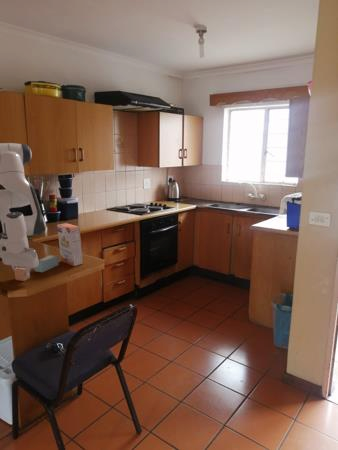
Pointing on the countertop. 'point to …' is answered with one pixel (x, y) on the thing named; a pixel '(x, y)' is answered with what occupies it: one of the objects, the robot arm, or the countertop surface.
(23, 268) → the block
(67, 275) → the countertop surface
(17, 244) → the robot arm
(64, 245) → the cracker box
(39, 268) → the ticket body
